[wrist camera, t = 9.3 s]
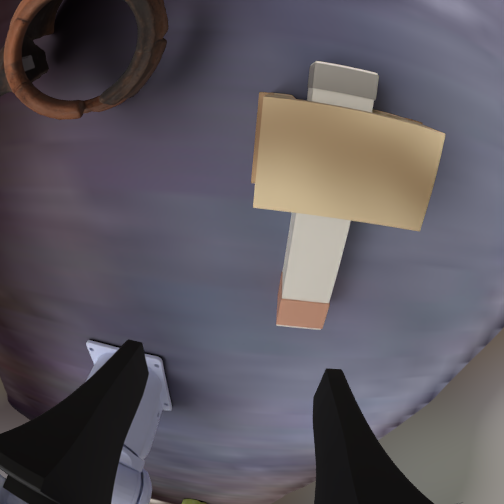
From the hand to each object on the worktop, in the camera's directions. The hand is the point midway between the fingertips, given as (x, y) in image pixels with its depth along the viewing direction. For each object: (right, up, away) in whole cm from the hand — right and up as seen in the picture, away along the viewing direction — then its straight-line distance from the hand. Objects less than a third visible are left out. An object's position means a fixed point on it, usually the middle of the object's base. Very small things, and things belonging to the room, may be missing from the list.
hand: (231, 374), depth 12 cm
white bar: (+5, +8, +6) cm, 11 cm away
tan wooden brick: (+5, +11, +4) cm, 13 cm away
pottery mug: (-9, +17, +2) cm, 20 cm away
